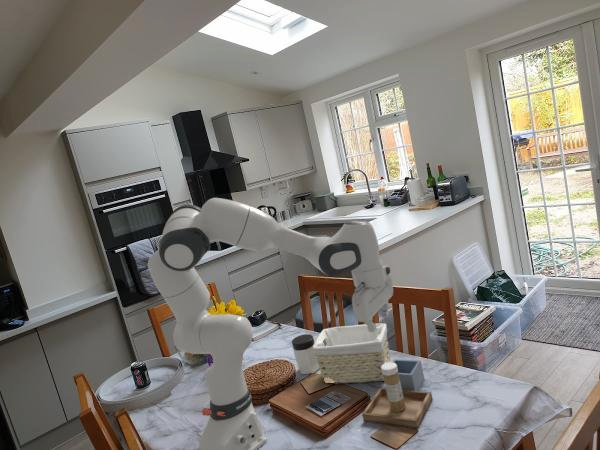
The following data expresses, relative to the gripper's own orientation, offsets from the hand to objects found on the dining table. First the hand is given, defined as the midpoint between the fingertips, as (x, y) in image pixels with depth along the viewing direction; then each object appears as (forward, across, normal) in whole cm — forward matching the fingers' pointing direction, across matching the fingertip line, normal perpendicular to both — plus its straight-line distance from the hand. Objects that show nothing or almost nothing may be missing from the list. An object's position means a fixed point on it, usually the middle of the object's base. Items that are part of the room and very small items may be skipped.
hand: (379, 323), depth 131 cm
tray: (+27, 0, 0) cm, 27 cm away
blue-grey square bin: (+27, +13, +2) cm, 30 cm away
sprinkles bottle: (+26, 0, 0) cm, 26 cm away
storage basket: (+27, +18, +21) cm, 39 cm away
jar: (+27, +19, +42) cm, 53 cm away
